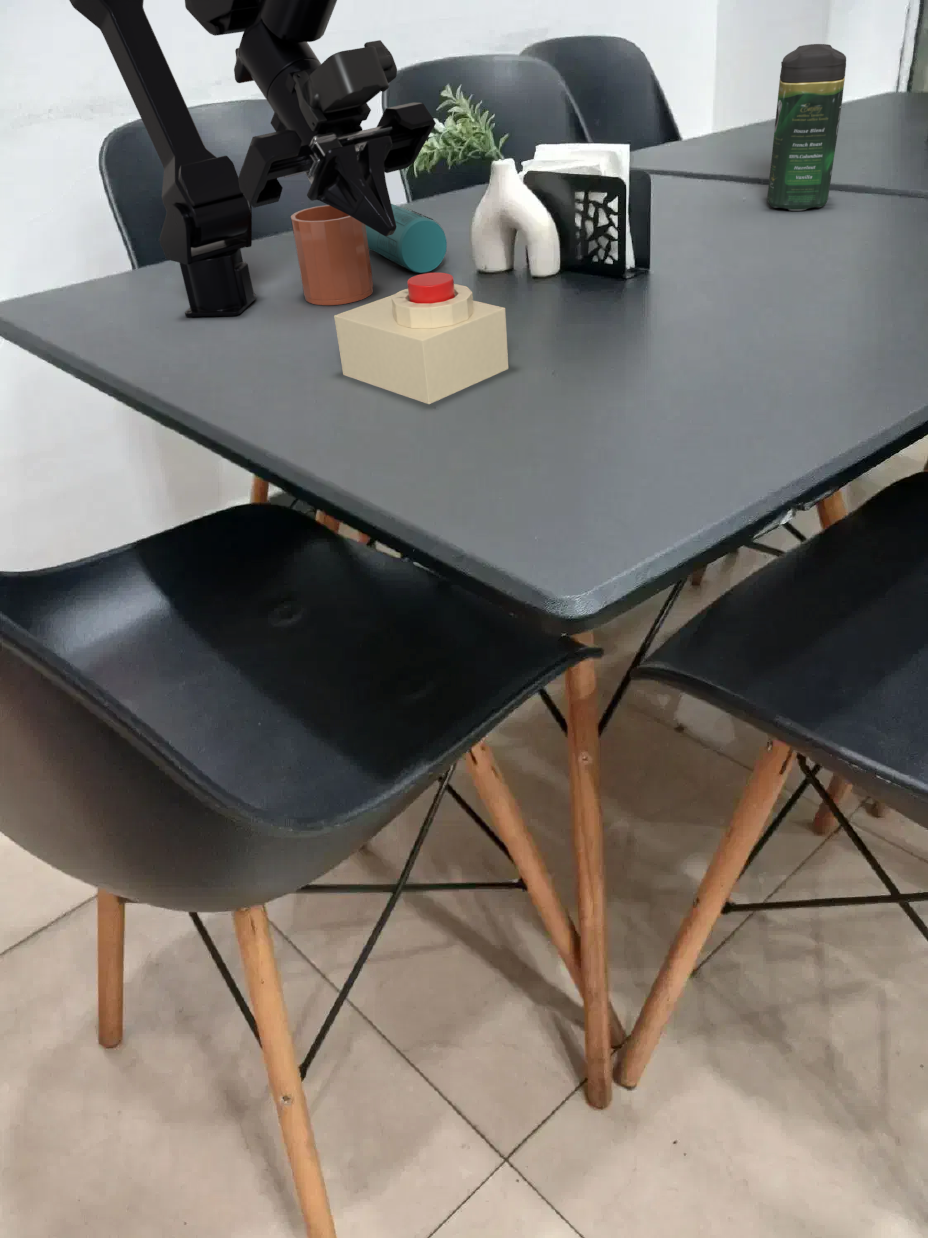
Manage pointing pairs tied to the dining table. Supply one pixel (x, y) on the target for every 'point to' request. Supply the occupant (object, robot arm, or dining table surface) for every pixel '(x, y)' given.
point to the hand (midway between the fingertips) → (391, 232)
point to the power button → (431, 288)
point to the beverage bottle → (411, 241)
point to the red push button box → (423, 344)
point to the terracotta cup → (332, 256)
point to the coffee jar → (806, 127)
